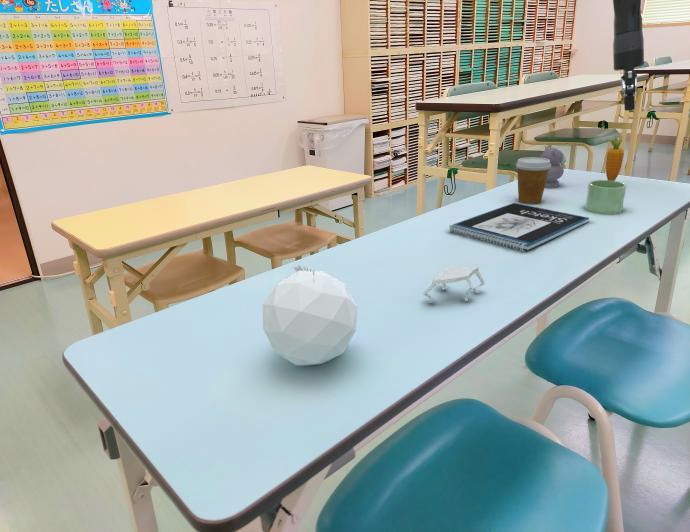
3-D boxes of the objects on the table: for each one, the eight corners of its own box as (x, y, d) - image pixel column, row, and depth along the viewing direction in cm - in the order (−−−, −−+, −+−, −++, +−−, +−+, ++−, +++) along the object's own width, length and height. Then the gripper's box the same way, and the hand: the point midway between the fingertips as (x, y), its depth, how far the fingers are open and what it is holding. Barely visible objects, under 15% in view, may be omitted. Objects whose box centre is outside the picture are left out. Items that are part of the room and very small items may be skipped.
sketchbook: (588, 222, 132) (589, 214, 131) (525, 254, 114) (526, 245, 113) (513, 206, 147) (514, 199, 146) (446, 232, 129) (447, 224, 128)
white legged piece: (449, 281, 102) (450, 258, 100) (486, 293, 97) (488, 268, 95) (410, 301, 95) (411, 277, 93) (449, 316, 89) (450, 290, 87)
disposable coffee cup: (514, 196, 157) (517, 156, 153) (547, 197, 154) (552, 157, 150) (511, 204, 149) (514, 162, 145) (546, 206, 146) (551, 164, 141)
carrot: (605, 186, 163) (613, 138, 158) (599, 182, 168) (606, 135, 162) (622, 186, 163) (630, 137, 157) (615, 182, 168) (622, 135, 162)
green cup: (615, 204, 145) (619, 180, 142) (626, 214, 137) (631, 188, 134) (581, 204, 146) (585, 180, 144) (590, 213, 138) (594, 188, 136)
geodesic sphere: (237, 307, 82) (250, 256, 71) (317, 285, 89) (340, 235, 77) (274, 393, 76) (295, 352, 65) (356, 362, 83) (388, 320, 71)
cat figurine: (566, 188, 164) (571, 149, 159) (541, 189, 164) (545, 150, 159) (555, 181, 172) (560, 145, 167) (531, 182, 172) (535, 146, 167)
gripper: (645, 45, 138) (646, 108, 141) (641, 50, 150) (642, 108, 154) (613, 51, 141) (615, 112, 145) (612, 55, 154) (614, 112, 157)
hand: (629, 110), depth 149 cm, fingers open, 8 cm apart
